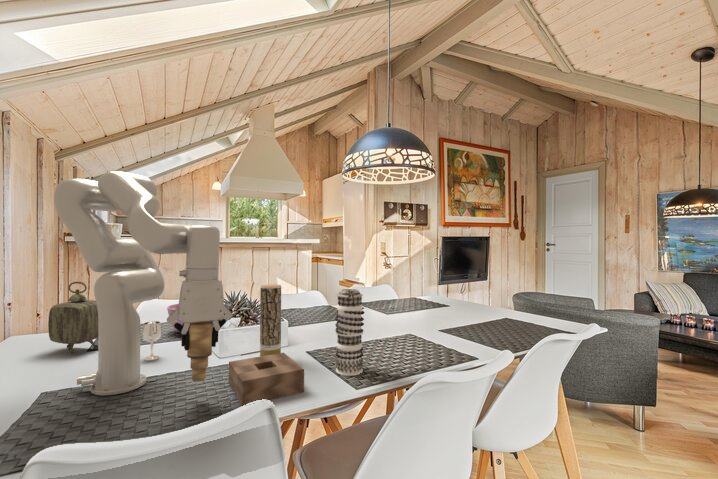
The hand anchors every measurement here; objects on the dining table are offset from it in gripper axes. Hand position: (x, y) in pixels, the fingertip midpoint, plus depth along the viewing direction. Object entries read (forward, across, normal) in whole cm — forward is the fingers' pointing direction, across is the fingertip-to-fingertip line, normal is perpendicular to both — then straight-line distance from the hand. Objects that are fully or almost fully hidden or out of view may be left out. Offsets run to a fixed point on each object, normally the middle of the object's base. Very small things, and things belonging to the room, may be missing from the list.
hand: (199, 346), depth 88 cm
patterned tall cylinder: (+13, +43, -2) cm, 45 cm away
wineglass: (+15, -9, +42) cm, 46 cm away
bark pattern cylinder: (+14, +25, +20) cm, 35 cm away
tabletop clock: (+16, -32, +64) cm, 74 cm away
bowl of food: (+15, +7, +73) cm, 75 cm away
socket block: (+13, +17, -1) cm, 21 cm away
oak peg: (+8, 0, 0) cm, 8 cm away
